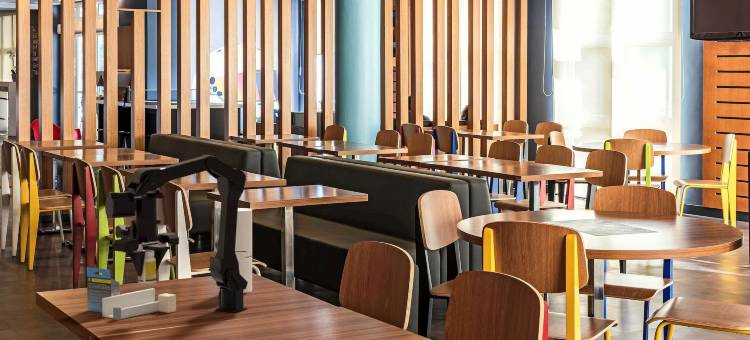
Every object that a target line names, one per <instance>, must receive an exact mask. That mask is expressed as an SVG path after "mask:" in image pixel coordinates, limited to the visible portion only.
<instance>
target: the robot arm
mask: <svg viewBox="0 0 750 340" xmlns="http://www.w3.org/2000/svg"><path fill="white" fill-rule="evenodd" d="M203 172H206V173H208V174H209V175H210V177H212V178H214V179H215V180H216V187H217V191H218V193H219V197H220V212H219V213H220V214H219V228H218V229H219V230H218V241H217V244H218V245H217V251H216V253H215V255H214V256H209V268H208V272H210V276H211V278H212V279H213V280H214V281H215V284H216V286H217V287H219V292H218V307H215V310H216V311H222V312H227V313H235V312H239V311H243V310H248V306H244V293H243V290H244V289H246V287H247V284H248V282H247V281H246V280H245V279H244V278H243V277H242V276H241V275H240V271H239V262H238V259H237V256H236V253H235V245H236V230H237V215H238V208H239V203H240V202H239V201H240V199H241V197H242V195H243V194H244V191H245V186H246V181H247V175H246V173H245V172H244V171H243V170H242V169H240V168H236V167H235V168H234V167H233V166H231V165H228V164H227V163H225V162H223V161H222V160H220V159H218V158H217V157H216V156H214V155H212V154H211V155H210V154H202V155H201V156H198V157H195V158H191V159H188V160H187V159H186V160H183V161H180V162H176V163H172V164H168V165H164V166H155V167H154V166H149V167H148V166H147V167H138V168H137V169H135V170H134V171H133V173H132V175H131V180H130V181H129V183H128V184H127V185H126V188H125V189H124V190H123V191H120V192H119V191H117V192H115V191H109V192H108V193H107V194H108V196H107V198H106V200H105V204H104V211H105V212H104V213H105V215H106V217H107V218H108V219H109V220H110V219H120V218H121V219H123V218H131V217H132V216H133V215H134V219H132V220H131V222H130V225H129V226H126V225H124V224H120V225H119V224H118V225H116V226H115V227H114V229H115V232H114V234H115V238H117V239H114V240H113V242H112V251H114V252H121V253H124V254H125V253H126V254H127V256H129V258H130V260H131V262H132V264H133V267H134V270H135V272H136V275H137V277H138V276H142V272H143V265H144V258H145V251H142V250H143V247H147V249H148V250H153V251H154V256H153V257H154V258H155V259H156V273H157V271H158V270H159V268H160V267H161V263H162V261H163V259H164V258H165V256H166V254H167V253H168V250H170V249H171V246H177V245H178V246H179V245H180V236H179V235H178V234H177V233H174V232H173V233H171V232H161V233H158V224H159V225H160V224H161V223H162V222H161V219H158V200H159V199H165V198H166V195H164V194H163V193H162V192H161V190H160V188H162V187H164V186H165V185H166V184H168V183H169V182H171V181H174V180H177V179H181V178H186V177H188V176H192V175H196V174H199V173H203ZM167 244H169V245H170V246H167Z"/></svg>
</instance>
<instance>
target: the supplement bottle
mask: <svg viewBox="0 0 750 340" xmlns="http://www.w3.org/2000/svg"><path fill="white" fill-rule="evenodd" d="M142 251H145V258H144V265H143V272H142V276H138V275H137V283H138V284H142V285H150V284H155V283H156V282H157V272H156V259H155V258H154V257H153V256H154V251H153V250H149V249H142Z"/></svg>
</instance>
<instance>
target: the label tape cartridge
mask: <svg viewBox="0 0 750 340" xmlns="http://www.w3.org/2000/svg"><path fill="white" fill-rule="evenodd" d="M98 272H99V274H96V273H98ZM111 276H112V275H111V269H106V268H105V269H104V268H98V267H89V266H86V287H87V288H86V290H87V292H86V294H87V297H86V298H87V312H94V313H102V298H106V297H111V296H116V295H121V291H120V288H121V286H120V283H121V282H120V281H117V280H116V279H113V278H112V277H111Z"/></svg>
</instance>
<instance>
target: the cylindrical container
mask: <svg viewBox="0 0 750 340" xmlns="http://www.w3.org/2000/svg"><path fill="white" fill-rule="evenodd" d="M235 253H236V256H237V259H238V262H239V271H240V275H241V276H242V277H243V278H244V279H245V280H246V281H247V282H248V284H247V287H246V289H244V290H243V294H247V293H252V291H253V209H252V208H246V207H245V208H244V207H242V208H241V207H238V215H237V230H236V245H235Z"/></svg>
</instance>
